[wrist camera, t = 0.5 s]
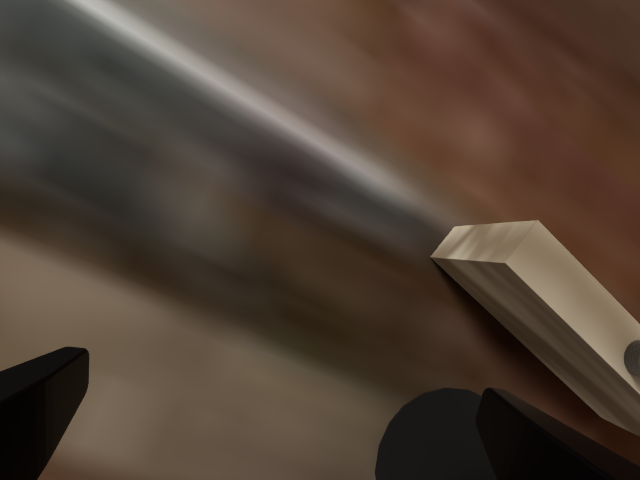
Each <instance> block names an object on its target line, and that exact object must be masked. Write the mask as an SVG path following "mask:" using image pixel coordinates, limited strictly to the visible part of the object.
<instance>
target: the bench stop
mask: <svg viewBox="0 0 640 480" xmlns="http://www.w3.org/2000/svg"><path fill="white" fill-rule="evenodd" d="M431 258H432V259H433V260H434V261H435V262H436V263H437V264H438V265H439V266H440V267H441V268H442V269H443V270H444V271H445V272H447V273H448V274H449V275H450V276H451V277H452V278H453V279H454V280H455V281H456V282H457V283H458V284H459V285H460V286H461V287H463V288H464V289H465V290H466V291H467V292H468V293H469V294H470V295H471V296H472V297H473V298H474V299H475V300H476V301H477V302H478V303H480V304H481V305H482V306H483V307H484V308H485V309H486V310H487V311H488V312H489V313H490V314H491V315H492V316H493V317H494V318H496V319H497V320H498V321H499V322H500V323H501V324H502V325H503V326H504V327H505V328H506V329H507V330H508V331H509V332H510V333H511V334H513V335H514V336H515V337H516V338H517V339H518V340H519V341H520V342H521V343H522V344H523V345H524V346H525V347H526V348H527V349H529V350H530V351H531V352H532V353H533V354H534V355H535V356H536V357H537V358H538V359H539V360H540V361H541V362H542V363H543V364H544V365H546V366H547V367H548V368H549V369H550V370H551V371H552V372H553V373H554V374H555V375H556V376H557V377H558V378H559V379H560V380H562V381H563V382H564V383H565V384H566V385H567V386H568V387H569V388H570V389H571V390H572V391H573V392H574V393H575V394H576V395H577V396H579V397H580V398H581V399H582V400H583V401H584V402H585V403H586V404H587V405H588V406H589V407H590V408H591V409H592V410H593V411H595V412H596V413H597V414H598V415H599V416H600V417H601V418H603V419H605V420H607V421H609V422H611V423H613V424H615V425H617V426H619V427H621V428H623V429H625V430H627V431H629V432H631V433H633V434H635V435H637V436H639V437H640V324H639V323H638V322H637V321H636V320H635V319H634V318H633V317H632V316H631V315H630V314H629V313H628V312H627V311H626V310H625V309H624V308H623V307H622V306H621V305H620V304H619V303H618V302H617V301H616V300H615V299H614V298H613V297H612V295H611V294H610V293H609V292H608V291H607V290H606V289H605V288H604V287H603V286H602V285H601V284H600V283H599V282H598V281H597V280H596V279H595V278H594V277H593V276H592V275H591V274H590V273H589V272H588V271H587V270H586V269H585V268H584V267H583V266H582V265H581V264H580V263H579V262H578V261H577V260H576V259H575V258H574V257H573V256H572V255H571V254H570V253H569V252H568V250H567V249H566V248H565V247H564V246H563V245H562V244H561V243H560V242H559V241H558V240H557V239H556V238H555V237H554V236H553V235H552V234H551V233H550V232H549V231H548V230H547V229H546V228H545V227H544V226H543V225H542V224H541V223H540V222H539V221H538V220H535V221H522V222H509V223H495V224H482V225H469V226H456V227H454V228H453V229H452V230H451V232H450V233H449V234H448V235H447V237H446V238H445V239H444V240H443V242H442V243H441V244H440V245H439V247H438V248H437V249H436V250H435V252H434V253H433V254H432V256H431Z"/></svg>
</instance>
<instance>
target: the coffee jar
mask: <svg viewBox="0 0 640 480" xmlns="http://www.w3.org/2000/svg"><path fill="white" fill-rule="evenodd" d="M481 398H482V396H480V395H478V394H476V393H474V392H472V391H470V390H463V389H452V388H443V389H439V390H435V391H431V392H427V393H423V394H422V395H420V396H418V397H417V398H415V399H414V400H412V401H410V402H409V403H407V404H406V405H404V406H403V407H402V408H401V409H400V411H399V412H398V413H397V414H396V415H395V416H394V418H393V419H392V420H391V421H390V423H389V425H388V427H387V429H386V431H385V433H384V436H383V438H382V440H381V442H380V444H379V448H378V455H377V462H376V468H375V476H376V480H496V478H495V475H494V472H493V470H492V467H491V465H490V462H489V459H488V457H487V454H486V452H485V449H484V446H483V444H482V441H481V438H480V436H479V433H478V431H477V428H476V423H475V418H476V413H477V410H478V407H479V404H480V401H481Z"/></svg>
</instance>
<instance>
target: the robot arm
mask: <svg viewBox="0 0 640 480" xmlns="http://www.w3.org/2000/svg"><path fill="white" fill-rule="evenodd" d="M88 383H89V352H88V350H87V349H85V348H77V347H64V348H61V349H58V350H56V351H53V352H50V353H48V354H45V355H42V356H40V357H37V358H35V359H32V360H29V361H27V362H24V363H21V364H19V365H16V366H13V367H11V368H8V369H6V370H3V371H0V480H37V479H38V478H39V476H40V474H41V473H42V471H43V470H44V468H45V467H46V465H47V463H48V462H49V460H50V458H51V456H52V455H53V453H54V451H55V449H56V447H57V446H58V444H59V442H60V440H61V438H62V436H63V435H64V433H65V431H66V429H67V427H68V425H69V424H70V422H71V420H72V418H73V416H74V414H75V413H76V411H77V409H78V407H79V405H80V403H81V402H82V400H83V398H84V396H85V394H86V391H87V388H88ZM475 423H476V428H477V431H478V433H479V436H480V438H481V441H482V444H483V446H484V449H485V452H486V454H487V457H488V459H489V462H490V465H491V467H492V470H493V472H494V475H495V478H496V480H640V467H639V466H638V465H636V464H634V463H632V462H631V461H629V460H627V459H625V458H624V457H622V456H620V455H618V454H617V453H615V452H613V451H611V450H610V449H608V448H606V447H604V446H603V445H601V444H599V443H597V442H596V441H594V440H592V439H590V438H589V437H587V436H585V435H583V434H581V433H580V432H578V431H576V430H574V429H573V428H571V427H569V426H567V425H566V424H564V423H562V422H560V421H559V420H557V419H555V418H553V417H552V416H550V415H548V414H546V413H545V412H543V411H541V410H539V409H538V408H536V407H534V406H532V405H531V404H529V403H527V402H525V401H524V400H522V399H520V398H518V397H517V396H515V395H513V394H511V393H510V392H508V391H506V390H504V389H498V388H487V389H485V390H484V392H483V394H482V398H481V401H480V404H479V407H478V410H477V413H476V418H475Z"/></svg>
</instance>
